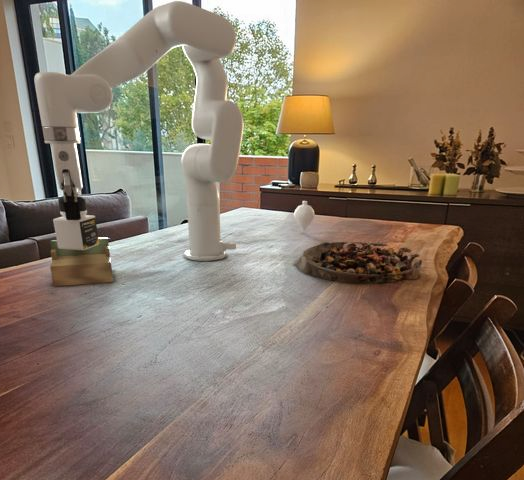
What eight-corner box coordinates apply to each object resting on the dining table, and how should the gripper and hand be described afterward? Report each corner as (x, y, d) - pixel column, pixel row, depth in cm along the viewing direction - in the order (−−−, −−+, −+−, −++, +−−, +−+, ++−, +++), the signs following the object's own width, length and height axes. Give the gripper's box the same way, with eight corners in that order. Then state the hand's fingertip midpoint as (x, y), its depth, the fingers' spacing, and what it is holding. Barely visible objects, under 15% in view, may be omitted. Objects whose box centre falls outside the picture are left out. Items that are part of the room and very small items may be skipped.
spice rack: (111, 270, 125) (107, 237, 121) (113, 281, 116) (108, 246, 112) (56, 274, 121) (50, 240, 117) (53, 286, 111) (46, 249, 108)
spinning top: (314, 235, 173) (316, 202, 167) (293, 235, 173) (295, 202, 167) (312, 231, 179) (314, 199, 174) (293, 231, 180) (294, 199, 174)
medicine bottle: (84, 250, 110) (76, 198, 104) (57, 249, 111) (48, 197, 106) (99, 244, 116) (92, 194, 111) (74, 242, 117) (66, 193, 112)
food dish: (439, 272, 131) (444, 245, 128) (380, 301, 110) (385, 269, 106) (338, 248, 152) (341, 224, 149) (272, 268, 131) (273, 241, 127)
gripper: (78, 137, 96) (90, 222, 104) (80, 136, 111) (91, 211, 119) (39, 136, 94) (55, 223, 102) (47, 135, 109) (59, 212, 117)
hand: (74, 216), depth 110 cm, fingers closed on medicine bottle, 7 cm apart
